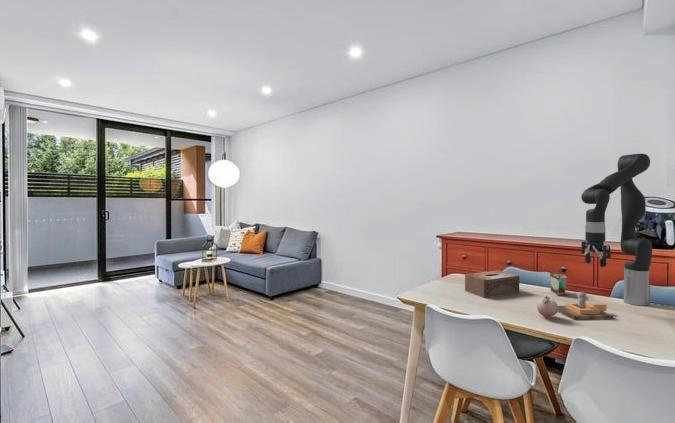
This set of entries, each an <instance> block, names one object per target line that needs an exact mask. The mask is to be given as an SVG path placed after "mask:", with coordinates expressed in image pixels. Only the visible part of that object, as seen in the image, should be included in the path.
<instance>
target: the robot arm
mask: <svg viewBox="0 0 675 423" xmlns="http://www.w3.org/2000/svg"><path fill="white" fill-rule="evenodd" d="M650 158H651V157H650V156H649V155H648V154H646V153H633V154H625V155H624V154H623V155H621V156H620V157H619V158H618V160H617V171H615V172H613V173H611V174H609V175H607V176H606V177H605V178H603V179H602V180H601V181H599V182H598V183H596V184H593V185H592V186H590V187H587V188H586V189H585V190H584V191H583V192H582V193H581V196H580V198H581V201H582V202H583V203H584V204H587V205H588V204H589V205H595V206H594V208H590V209H587V210H586V212H585V226H584V227H585V228H584V230H585V234H584V235H585V237H584V238H585V241H581V247H580V249H581V250H580V253H581V254H583V255H584V263H585V264H591V262H592V257H591V256H592V253H595V254H596V255H598V258H599V266H600V267H601V268H605V267H607V259H611V256H612V255H611V254H612V253H611V245H609V244H607V245H606V244H604V242H606V222H605V221H606V220H605V219H606V216H605V215H606V211H607V208H608V204H609V203H610V199H611V197H610V195H611V194H613V193H614V192H615V191H616V190H618V189H619V188H620V209H621V211H620V212H621V230H620V231H621V233H620V250H621V251H622V253H623V254H624V255H628V256H632V257H633V256H634V257H635V258H634V260H632V261H627V262H625V263H624V266H623V267H624V269H623V271H624V272H623V277H624V278H623V302H624V303H625V304H630V305H635V306H640V307H641V306H648V305H651V285H650V284H649V279H650V266H651V264H652V255H653V244H652V242H651V240H649V239H648V238H642V237H641V238H640V237H635V236H636V235H635V233H636V232H635V231H636V228H637V226H638V224H639V222H640V221H641V220H642V219H643V218H644V216H645V214H646V211H647V210H646V208H647V206H646V204H647V203H646V197H645V196H644V194H643V192H641V190H640V189H639V188H638V187H637V186H636V184H635V182H634V181H633V179H634V178H636V177H637V176H639V175H640V174H642V173H644V172H646V171H647V170H648V169H649V167H650V165H651V159H650Z"/></svg>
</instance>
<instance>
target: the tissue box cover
mask: <svg viewBox="0 0 675 423" xmlns="http://www.w3.org/2000/svg"><path fill="white" fill-rule="evenodd" d="M464 291H465V292H468V293H469V294H472V295H475V296H477V297H481V298H483V299H486V298H492V297H499V296H505V295H513V294H519V293H520V275H518V274H514V273H510V272H508V271H507V272H506V271H502V270H493V271H492V270H491V271H490V270H489V271H482V272H474V273H467V274H466V273H465V274H464Z"/></svg>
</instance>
